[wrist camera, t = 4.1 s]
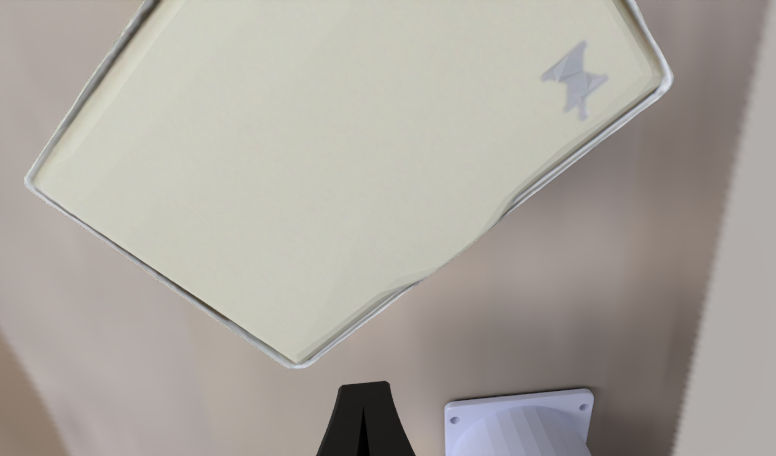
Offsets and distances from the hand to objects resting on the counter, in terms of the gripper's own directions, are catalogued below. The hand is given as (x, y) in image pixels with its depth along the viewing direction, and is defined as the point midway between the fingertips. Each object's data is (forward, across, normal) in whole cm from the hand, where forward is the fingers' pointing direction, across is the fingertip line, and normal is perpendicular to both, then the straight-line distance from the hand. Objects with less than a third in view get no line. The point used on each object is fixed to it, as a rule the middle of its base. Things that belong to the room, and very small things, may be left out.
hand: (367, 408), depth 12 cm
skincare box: (+8, 0, -10) cm, 12 cm away
